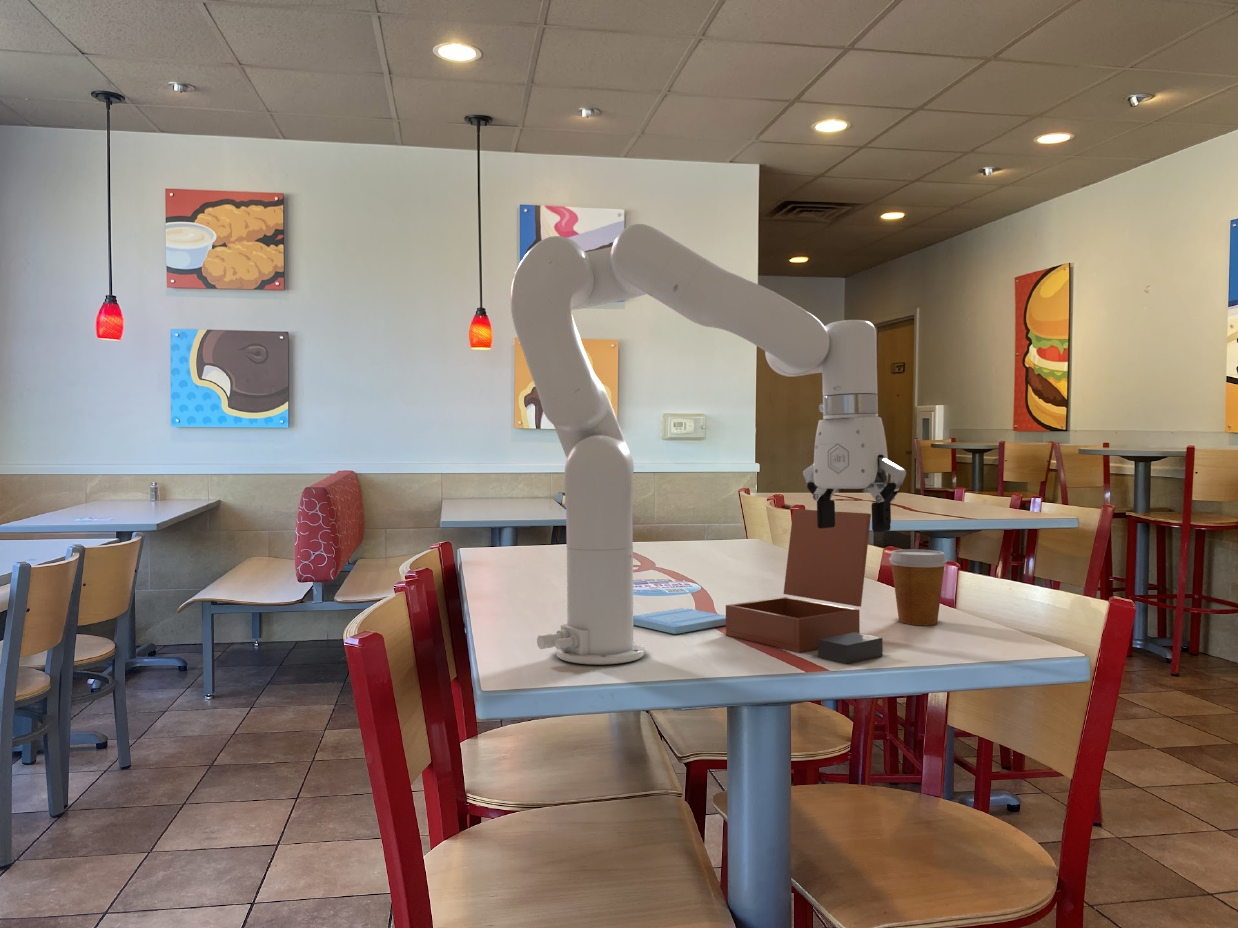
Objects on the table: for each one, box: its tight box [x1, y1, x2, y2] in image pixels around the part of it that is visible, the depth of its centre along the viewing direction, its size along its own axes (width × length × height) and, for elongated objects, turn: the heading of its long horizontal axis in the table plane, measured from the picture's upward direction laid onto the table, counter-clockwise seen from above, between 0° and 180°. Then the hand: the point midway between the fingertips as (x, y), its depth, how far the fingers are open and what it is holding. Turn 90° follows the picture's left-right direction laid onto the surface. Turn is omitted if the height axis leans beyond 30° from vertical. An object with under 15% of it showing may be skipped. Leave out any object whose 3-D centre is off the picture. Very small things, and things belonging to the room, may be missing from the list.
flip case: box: [725, 596, 861, 653], centre depth 136 cm, size 14×16×5 cm
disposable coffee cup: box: [888, 549, 948, 626], centre depth 148 cm, size 10×10×12 cm
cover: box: [783, 508, 872, 608], centre depth 140 cm, size 14×16×1 cm
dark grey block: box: [817, 632, 884, 665], centre depth 122 cm, size 8×5×3 cm, turn 126°
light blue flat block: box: [633, 607, 726, 635], centre depth 147 cm, size 14×12×1 cm
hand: (853, 529), depth 122 cm, fingers open, 9 cm apart
